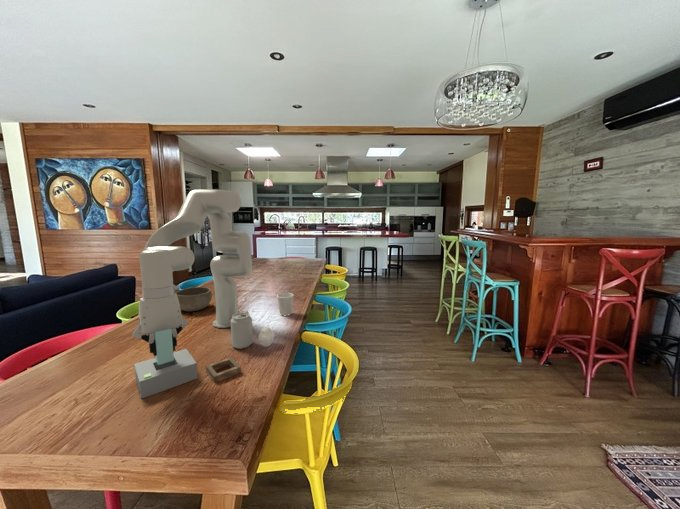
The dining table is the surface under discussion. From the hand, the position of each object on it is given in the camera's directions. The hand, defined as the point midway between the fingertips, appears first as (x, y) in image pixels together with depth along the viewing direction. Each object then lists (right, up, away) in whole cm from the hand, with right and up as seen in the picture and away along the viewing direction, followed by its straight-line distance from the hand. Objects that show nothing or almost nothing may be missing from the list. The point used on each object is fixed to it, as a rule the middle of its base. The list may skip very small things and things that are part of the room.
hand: (163, 351), depth 81 cm
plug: (0, -3, 0) cm, 3 cm away
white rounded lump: (+24, -6, +23) cm, 34 cm away
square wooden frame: (+16, -8, +5) cm, 18 cm away
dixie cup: (+25, -2, +56) cm, 62 cm away
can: (+15, -6, +23) cm, 28 cm away
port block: (0, -9, +1) cm, 9 cm away
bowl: (-25, -1, +64) cm, 69 cm away
